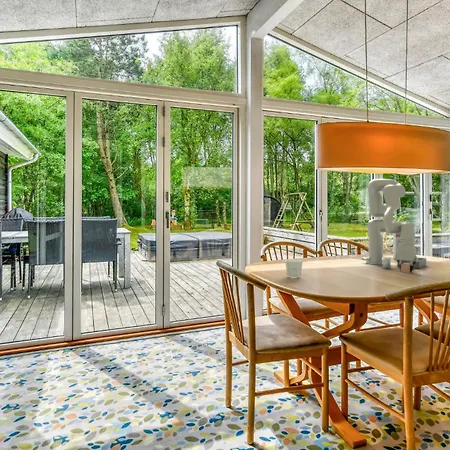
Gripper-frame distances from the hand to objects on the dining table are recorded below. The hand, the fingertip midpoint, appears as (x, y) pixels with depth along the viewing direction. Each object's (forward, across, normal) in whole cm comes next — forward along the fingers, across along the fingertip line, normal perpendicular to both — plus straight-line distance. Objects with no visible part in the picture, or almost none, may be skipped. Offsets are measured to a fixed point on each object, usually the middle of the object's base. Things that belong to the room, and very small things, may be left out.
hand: (406, 270), depth 237 cm
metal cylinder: (+1, -13, +3) cm, 14 cm away
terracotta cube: (+1, 0, 0) cm, 1 cm away
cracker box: (+1, -16, +50) cm, 53 cm away
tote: (+1, -3, +24) cm, 24 cm away
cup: (+1, -45, -60) cm, 75 cm away
